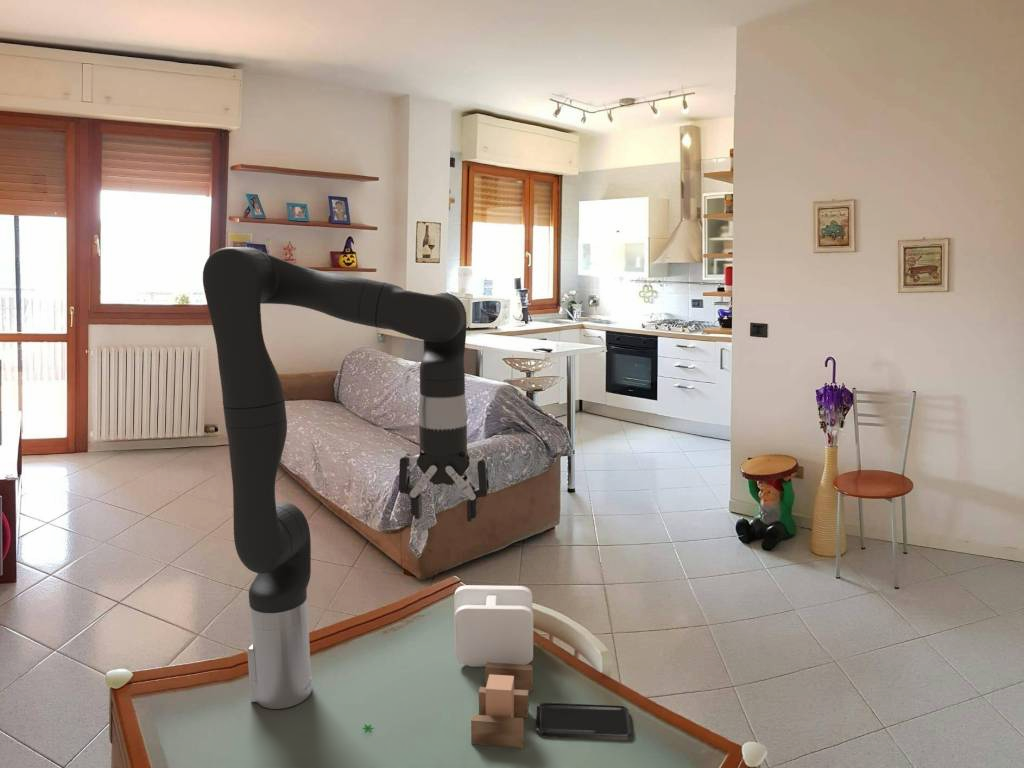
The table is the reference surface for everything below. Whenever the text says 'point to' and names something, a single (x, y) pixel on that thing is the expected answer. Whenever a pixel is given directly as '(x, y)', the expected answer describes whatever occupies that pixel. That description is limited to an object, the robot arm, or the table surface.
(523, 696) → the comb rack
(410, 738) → the table surface
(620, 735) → the phone
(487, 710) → the plug block
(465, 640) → the cable organizer
